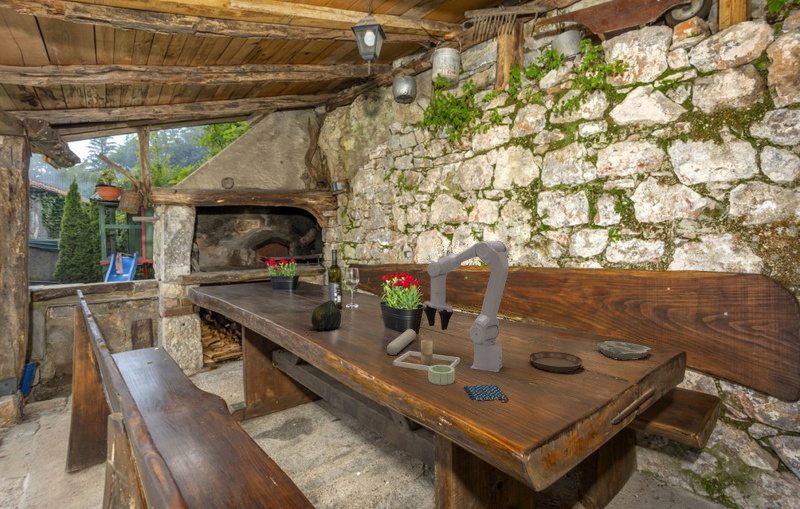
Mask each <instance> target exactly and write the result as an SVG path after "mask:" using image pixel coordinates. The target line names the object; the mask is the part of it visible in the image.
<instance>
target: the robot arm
mask: <svg viewBox="0 0 800 509" xmlns="http://www.w3.org/2000/svg"><path fill="white" fill-rule="evenodd" d="M508 254H509V249H508V247H507V246H506V244H505V243H504V242H503V241H501V240H491V241H490V240H489V241H487V240H481V241H479V242H477V243H476V242H475V243H474V244H473V245H471V246H469V247H468V248H467V249H465V250H463V251H461V252H460V253H458V254H456V253H453V252H449V253H447V254H446V255H447V256H444V257H442V258H439V259H438V260H437V261H434V260H433V261H431V262H429V264H428V265H427V273H428V275H429V276H430V301H428V300H427V301H424V303H423V304H424V306H423V307H424V308H423V312H424V313H425V315H426V318H427V323H428V326H429V327H434V326H435V323H436V313H437V311H438V310H439V311H438V314H439V318H440V324H441V325H440V326H441V330H442V331H444V330H445V331H446V330H448V326H449V322H450V320H451V317H452V316H453V314H454V311H453V306H451V305H449V304H447V303H446V288H447V287H446V281H447V276H448V274H449V273H450V272H452V271H455V270H456V269H459V268H460V267H461V266H462V263H464V262H466V261H469V260H471V259H474V258H476V257H477V258H478V259H479V260H481V261H482V262H483V264H485V265H486V266H487V267H488V268H489V269H490V273H489V274H490V275H489V278H488V280H487V282H488V283H487V286H486V289H485V295H484V298H483V301H482V305H481V310H480V314H479V315H478V316H477V317H476V318H475V319H474V322H473V324H472V326H471V327H470V328H469V337H470V338H471V340H472V343H473V364H472V365H471V366H470V369H474V370H475V369H476V370H482V371H489V372H494V373H495V372H497V373H498V372H500V370H501V369H502V367H503V345H502V344H501V343H497V342H496V341H497V338H498V337H499V336H500V320H499V319H498V318H497V316H498V313H499V309H500V304H501V302H502V297H503V294H504V290H505V287H506V286H505V285H506V282H507V278H508V276H509V271H510V266H509V258H508Z"/></svg>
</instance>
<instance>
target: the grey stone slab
mask: <svg viewBox="0 0 800 509" xmlns="http://www.w3.org/2000/svg"><path fill="white" fill-rule="evenodd" d="M595 346H596V347H597V348H598V349H599V350H600V352H601V353H602V354H603V355H604V356H605V355H606V356H605V357H608V356H610V357H609V358H611V357H612V359H613V358H617V359H616V360H618V359H632V358H642V359H643V358H645V357H646V356H648V355H649V354H650V352H651V349H652V348H651V347H648V346H645V345H641V344H637V343H631V342H630V343H629V342H625V341H624V342H622V341H613V340H612V341H606V340H605V341H603V342H596V343H595ZM644 356H645V357H644Z"/></svg>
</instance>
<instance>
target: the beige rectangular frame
mask: <svg viewBox="0 0 800 509" xmlns="http://www.w3.org/2000/svg"><path fill="white" fill-rule="evenodd" d="M410 356H413V357H420V358H421V351H412V350H409V351H406V352H405V353H403V354H401V356H398V357H397V358H396V359H394V360H392V366H395V367H401V368H408V369H413V370H414V369H415V370H420V371H427V372H428V368H429V367H430V366H431V365H422V364H418V363H410V362H404V360H406V358H408V357H410ZM433 359H434V360H441V361H448V362H452V363H451V364H450V365H449V366H451V367H453V368H454V369H455V367H457V366H458V364H459V363H461V357H457V356H456V357H455V356H450V355H442V354H434V353H432V360H433Z"/></svg>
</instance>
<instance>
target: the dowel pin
mask: <svg viewBox="0 0 800 509" xmlns="http://www.w3.org/2000/svg"><path fill="white" fill-rule="evenodd" d="M433 344H434V343H433V340H430V339H423V340H421V342H420V352H421V357H420V365H425V366H433V358H432V354H434V353H433V346H434V345H433Z"/></svg>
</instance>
